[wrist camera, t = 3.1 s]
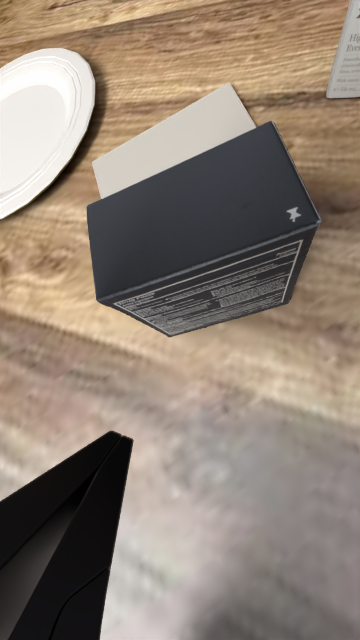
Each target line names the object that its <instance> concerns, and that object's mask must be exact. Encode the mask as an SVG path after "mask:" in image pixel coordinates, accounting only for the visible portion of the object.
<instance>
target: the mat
mask: <svg viewBox="0 0 360 640" xmlns="http://www.w3.org/2000/svg"><path fill="white" fill-rule="evenodd" d="M255 128H256V126H255V124H254V122H253V121H252V119H251V117H250V116H249V114H248V112H247V111H246V109H245V107H244V106H243V104H242V102H241V101H240V99H239V97H238V96H237V94H236V92H235V91H234V89H233V87H232V86H231V84H230V82H229V83H227V84H225V85H224V86H222V87H220V88H218V89H217V90H215V91H213V92H212V93H210V94H208V95H206V96H205V97H203V98H201V99H200V100H198V101H196V102H194V103H193V104H191V105H189V106H187V107H186V108H184V109H182V110H181V111H179V112H177V113H175V114H174V115H172V116H170V117H169V118H167V119H165V120H163V121H162V122H160V123H158V124H156V125H155V126H153V127H151V128H150V129H148V130H146V131H144V132H143V133H141V134H139V135H138V136H136V137H134V138H132V139H131V140H129V141H127V142H125V143H124V144H122V145H120V146H119V147H117V148H115V149H113V150H112V151H110V152H108V153H106V154H105V155H103V156H101V157H100V158H98V159H96V160H94V161H93V162H92V165H93V168H94V172H95V176H96V180H97V184H98V188H99V192H100V195H101V199H103V198H105V197H107V196H109V195H112V194H114V193H116V192H118V191H120V190H123V189H125V188H127V187H129V186H131V185H133V184H136V183H138V182H140V181H142V180H144V179H147V178H149V177H151V176H153V175H155V174H157V173H159V172H162V171H164V170H166V169H168V168H170V167H172V166H175V165H177V164H179V163H181V162H183V161H185V160H188V159H190V158H192V157H194V156H196V155H198V154H201V153H203V152H205V151H207V150H209V149H211V148H214V147H216V146H218V145H220V144H222V143H224V142H226V141H229V140H231V139H233V138H235V137H237V136H239V135H241V134H243V133H246V132H248V131H250V130H252V129H255Z"/></svg>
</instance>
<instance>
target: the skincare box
mask: <svg viewBox="0 0 360 640" xmlns="http://www.w3.org/2000/svg"><path fill="white" fill-rule="evenodd" d="M326 97H327V98H348V97H360V0H350V3H349V7H348V11H347V15H346V18H345V22H344V26H343V29H342V33H341V37H340V40H339V44H338V48H337V51H336V55H335V59H334V61H333V66H332V70H331V74H330V79H329V83H328V88H327V94H326Z"/></svg>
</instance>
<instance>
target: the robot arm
mask: <svg viewBox="0 0 360 640" xmlns="http://www.w3.org/2000/svg"><path fill="white" fill-rule="evenodd" d="M132 447H133V439H132V438H129V437H127V436H122V435H121V434H120V433H117V432H115V431H109V432H107V433H106V434H104V435H103V436H101V437H100V438H98V439H97V440H95V441H93V442H92V443H90V444H89V445H87V446H86V447H84V448H83V449H81V450H79V451H78V452H76V453H75V454H73V455H72V456H70V457H69V458H67V459H65V460H64V461H62V462H61V463H59V464H58V465H56V466H55V467H53V468H51V469H50V470H48V471H47V472H45V473H44V474H42V475H41V476H39V477H37V478H36V479H34V480H33V481H31V482H30V483H28V484H27V485H25V486H23V487H22V488H20V489H19V490H17V491H16V492H14V493H13V494H11V495H9V496H8V497H6V498H5V499H3V500H2V501H0V640H100V633H101V625H102V618H103V612H104V605H105V599H106V592H107V587H108V581H109V576H110V569H111V564H112V558H113V553H114V547H115V541H116V536H117V530H118V525H119V519H120V513H121V508H122V502H123V497H124V491H125V486H126V480H127V474H128V469H129V463H130V458H131V452H132Z"/></svg>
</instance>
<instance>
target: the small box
mask: <svg viewBox="0 0 360 640" xmlns="http://www.w3.org/2000/svg"><path fill="white" fill-rule="evenodd" d="M321 221H322V219H321V217H320V215H319V213H318V211H317V209H316V208H315V205H314V203H313V202H312V200H311V198H310V195H309V193H308V191H307V189H306V187H305V185H304V183H303V181H302V179H301V177H300V175H299V173H298V171H297V169H296V167H295V164H294V162H293V160H292V158H291V156H290V154H289V152H288V149H287V148H286V146H285V144H284V142H283V140H282V137H281V135H280V134H279V132H278V129H277V127H276V125H275V123H274V122H272V121H269V122H267V123H265V124H263V125H261V126H258V127H256V128H255V129H252V130H250V131H248V132H246V133H243V134H241V135H239V136H237V137H235V138H233V139H231V140H229V141H226V142H224V143H222V144H220V145H218V146H216V147H214V148H211V149H209V150H207V151H205V152H203V153H201V154H198V155H196V156H194V157H192V158H190V159H188V160H185V161H183V162H181V163H179V164H177V165H175V166H172V167H170V168H168V169H166V170H164V171H162V172H159V173H157V174H155V175H153V176H151V177H149V178H147V179H144V180H142V181H140V182H138V183H136V184H133V185H131V186H129V187H127V188H125V189H123V190H120V191H118V192H116V193H114V194H112V195H109V196H107V197H105V198H103V199H101V200H99V201H96V202H94V203H92V204H89V205H88V206H87V223H88V232H89V240H90V250H91V258H92V268H93V276H94V284H95V293H96V300H97V301H98V302H99V303H101V304H103V305H105V306H109V307H112V308H114V309H116V310H118V311H121V312H123V313H125V314H126V315H129V316H131V317H133V318H134V319H136V320H138V321H140V322H142V323H144V324H146V325H148V326H150V327H152V328H154V329H155V330H157V331H160V332H161V333H163V334H165V335H167V336H168V337H172V336H175V335H179V334H183V333H187V332H190V331H194V330H197V329H201V328H206V327H208V326H211V325H215V324H218V323H222V322H225V321H229V320H232V319H237V318H240V317H243V316H247V315H250V314H254V313H257V312H261V311H264V310H267V309H271V308H274V307H277V306H281V305H284V304H288V303H289V301H290V299H291V293H292V290H293V288H294V285H295V283H296V280H297V278H298V275H299V273H300V270H301V268H302V265H303V262H304V260H305V258H306V255H307V252H308V250H309V247H310V244H311V242H312V239H313V237H314V234H315V232H316V231H317V229H318V228H319V226H320V223H321Z"/></svg>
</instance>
